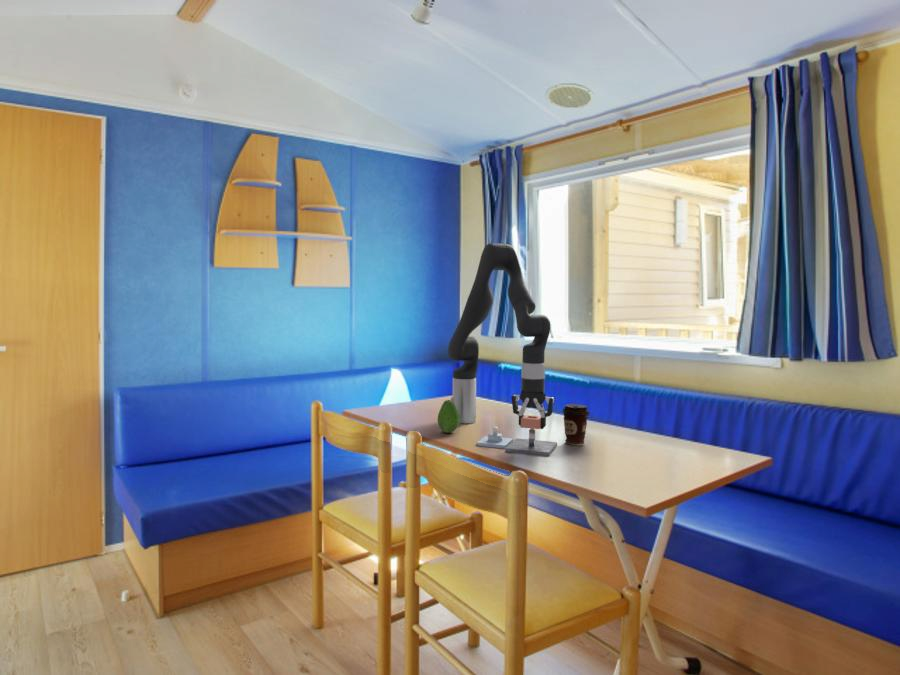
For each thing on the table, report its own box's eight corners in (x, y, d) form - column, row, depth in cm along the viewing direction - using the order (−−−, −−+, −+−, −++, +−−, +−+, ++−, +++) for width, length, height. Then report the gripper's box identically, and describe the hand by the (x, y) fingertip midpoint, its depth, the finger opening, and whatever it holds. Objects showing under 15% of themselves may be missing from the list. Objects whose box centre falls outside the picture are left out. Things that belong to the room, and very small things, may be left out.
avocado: (442, 435, 217) (442, 402, 216) (434, 431, 224) (434, 398, 223) (463, 434, 220) (463, 400, 219) (454, 429, 227) (455, 397, 226)
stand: (476, 445, 203) (476, 429, 203) (485, 438, 213) (485, 423, 212) (505, 448, 200) (505, 431, 200) (513, 441, 209) (513, 425, 209)
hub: (505, 451, 196) (505, 429, 195) (516, 441, 209) (516, 420, 208) (548, 456, 191) (549, 433, 191) (557, 445, 204) (557, 424, 204)
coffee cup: (572, 447, 201) (573, 408, 200) (556, 442, 209) (557, 404, 208) (592, 445, 205) (593, 406, 204) (576, 439, 213) (577, 402, 212)
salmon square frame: (520, 427, 198) (521, 418, 197) (525, 423, 203) (525, 414, 203) (539, 429, 196) (539, 419, 195) (543, 425, 201) (543, 416, 201)
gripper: (508, 376, 197) (507, 428, 198) (553, 379, 192) (552, 432, 194) (514, 373, 204) (513, 423, 206) (557, 376, 199) (556, 427, 201)
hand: (532, 427), depth 200 cm, fingers closed on salmon square frame, 6 cm apart
